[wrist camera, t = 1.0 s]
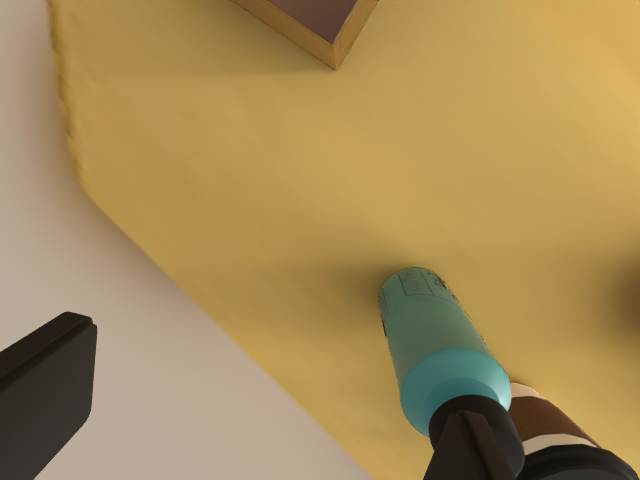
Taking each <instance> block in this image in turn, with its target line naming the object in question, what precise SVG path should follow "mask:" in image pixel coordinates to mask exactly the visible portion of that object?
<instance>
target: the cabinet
mask: <svg viewBox="0 0 640 480" xmlns="http://www.w3.org/2000/svg"><path fill="white" fill-rule="evenodd" d="M231 1H233V2H234V3H236V4H237V5H239V6H240V7H242V8H243V9H245V10H246V11H248V12H249V13H251V14H252V15H254V16H255V17H257V18H258V19H260V20H261V21H263V22H264V23H266V24H267V25H269V26H270V27H271V28H273V29H274V30H276V31H277V32H279V33H280V34H282V35H283V36H285V37H286V38H288V39H289V40H291V41H292V42H294V43H295V44H297V45H298V46H300V47H301V48H303V49H304V50H306V51H307V52H309V53H310V54H311V55H313V56H314V57H316V58H317V59H319V60H320V61H322V62H323V63H325V64H326V65H328V66H329V67H331V68H332V69H334V70H335V71H337V70H338V69H339V67H340V65H341V64H342V62H343V60H344V58H345V57H346V55H347V53H348V52H349V50H350V48H351V47H352V45H353V43H354V41H355V40H356V38H357V36H358V35H359V33H360V31H361V29H362V28H363V26H364V24H365V23H366V21H367V19H368V18H369V16H370V14H371V12H372V11H373V9H374V7H375V6H376V4H377V2H378V1H379V0H231Z"/></svg>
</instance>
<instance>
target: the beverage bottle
mask: <svg viewBox="0 0 640 480" xmlns="http://www.w3.org/2000/svg"><path fill="white" fill-rule="evenodd" d="M432 272H433V271H432ZM432 272H431V270H430V271H428V269H427V270H425V268H424V269H421V268H417V267H414V268H407V269H403V270H400V271H398V272H396V273H395V274H393V275H392V276H391V277H390V278H389V279H388V280H387V281H386V283H385V284H384V286H383V288H381V289H382V290H381V294H380V296H379V297H380V298H379V297H378V298H379V299H380V301H379V302H380V304H379V305H380V308H381V312H382V315H381V317H382V316H383V317H382V319H383V320H381V321H382V322H383V325H382V326H383V327H384V332H385V335H386V337H387V339H388V343H387V344H389V348H390V352H391V354H390V355H392V359H393V364H394V368H395V373H396V377H397V382H398V386H399V391H400V401H401V406H402V409H403V412H404V414H405V416H406V418H407V419H408V421H409V422H410V423H411V424H412V425H413V427H414V428H415V429H417V430H418V431H419V432H420V433H422V434H424V435H426V436H428V437H430V441H431V444H432V447H433V449H434V451H435V449H436V446H437V444H438V442H439V439H440V437H441V434H442V432H443V429H444V427H445V424H446V422H447V419H448V417H449V415H450V414H452V413H453V414H456V413H457V411H458V410H461V409H462V410H466V411H470V412H474V413H478V414H481V415H483V416H484V417H485V418H486V420H487V422H488V424H489V426H490V428H491V430H492V432H493V434H494V436H495V438H496V440H497V442H498V444H499V446H500V448H501V451H502V453H503V455H504V457H505V459H506V461H507V463H508V465H509V467H510V469H511V471H512V473H513V475H514V477H515V478H516V477H517V476H518V474H519V473H520V472H521V470H522V468H523V465H524V461H525V452H524V447H523V444H522V442H521V439H520V437H519V435H518V433H517V431H516V428H515V425H514V422H513V420H512V418H511V417H510V415H509V413H508V412H507V411H508V409H509V406H510V402H511V384H510V381H509V378H508V376H507V374H506V372H505V370H504V369H503V367H502V366H501V365H500V364H499V363H498V361H497V360H496V359H495V358H494V357H493V355H492V354H491V352H490V351H489V349H488V348H487V346H486V344H485V343H484V342H483V341H482V339H481V338H480V336H479V335H478V333H477V331H476V329H475V328H474V326H473V325H472V323H471V322H470V320H469V319H468V318H467V316H466V314H465V313H464V312H465V311H464V312H463V310H462V309H461V308H460V306H459V305H458V303H459V301H457V302H458V303H457V302H456V300H455V298H454V296H455V295H454V294H453V295H454V296H453V295H451V293H450V291H449V290H450V288H449V287H448V289H449V290H448V289H447V287H446V286H445V285H444V283H445V281H444V280H443V282H444V283H443V282H442V280H441V278H439V277H438V275H437V274H436V275H435V274H434V273H435V272H434V273H432ZM451 292H452V291H451ZM456 299H457V298H456ZM462 308H463V307H462ZM470 319H471V318H470ZM385 330H386V331H385ZM480 334H481V333H480ZM481 336H482V335H481ZM483 340H484V339H483ZM390 358H391V357H390ZM392 359H391V360H392Z"/></svg>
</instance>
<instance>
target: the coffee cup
mask: <svg viewBox="0 0 640 480" xmlns="http://www.w3.org/2000/svg"><path fill="white" fill-rule="evenodd" d="M510 384H511V402H510V406H509V409H508V411H507V412H508V413H509V415H510V417H511V418H512V420H513V422H514V425H515V428H516V431H517V433H518V435H519V437H520V439H521V442H522V444H523V447H524V452H525V461H524V465H523V468H522V470H521V472H520V473H519V474H518V476H517V477H516V478H515V479H516V480H639V478H638V476H637V474H636V472H635V471H634V470H633V469H632V467H631V466H630V465H628V464H627V463H626V462H624V461H623V460H622V459H620V458H619V457H617V456H616V455H615V454H613V453H612V452H611V451H608V450H605V449H602V448H601V447H600V446H599V445H598V444H597V443H596V442H595V441H594V440H593V439H592V438H590V437H589V436H588V435H587V434H586V433H585V432H584V431H583V430H582V429H581V428H579V427H578V426H577V425H576V424H575V423H574V422H573V421H572V420H571V419H570V418H569V417H567V416H566V415H565V414H564V413H563V412H562V411H561V410H560V409H559V408H557V407H556V406H555V405H553V404H552V403H550V402H549V401H548V400H546V399H545V398H544V397H543V396H542V395H541V394H539V393H538V392H537V391H535V390H534V389H533V388H531V387H529V386H526V385H522V384H519V383H515V382H512V383H510Z"/></svg>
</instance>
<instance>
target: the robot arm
mask: <svg viewBox="0 0 640 480" xmlns="http://www.w3.org/2000/svg"><path fill="white" fill-rule="evenodd" d="M96 341H97V326H96V325H95V324H93V321H92V318H90V317H88V316H84V315H80V314H76V313H72V312H64V313H62V314H60V315H59V316H57V317H56V318H54V319H53V320H51V321H49V322H48V323H47V324H44V325H43V326H41V327H40V328H38V329H37V330H35V331H33V332H32V333H30V334H29V335H27V336H25V337H24V338H22V339H21V340H19V341H17V342H16V343H14V344H12V345H11V346H9V347H8V348H6V349H4V350H3V351H1V352H0V480H33V479H34V478H35V477H36V476H37V475H38V474H39V473H40V472H41V471H42V470H43V468H44V467H45V466H46V465H47V464H48V463H49V462H50V461H51V460H52V458H53V457H54V456H55V455H56V454H57V453H58V452H59V451H60V450H61V449H62V448H63V446H64V445H65V444H66V443H67V442H68V441H69V440H70V439H71V438H72V437H73V435H74V434H75V433H76V432H77V431H78V430H79V429H80V428H81V427H82V426H83V424H84V423H85V422H86V420H87V418H88V417H89V414H90V412H91V405H92V392H93V380H94V379H93V378H94V365H95V354H96ZM423 480H516V479H515V477H514V475H513V473H512V471H511V469H510V467H509V465H508V463H507V461H506V459H505V457H504V455H503V453H502V451H501V448H500V446H499V444H498V442H497V440H496V438H495V436H494V434H493V432H492V430H491V428H490V426H489V424H488V422H487V420H486V418H485V417H484V416H483V415H481V414H478V413H474V412H470V411H466V410H462V409H461V410H458V411H457V413H456V414H453V413H452V414H450V415H449V417H448V419H447V422H446V424H445V427H444V429H443V432H442V434H441V437H440V439H439V442H438V444H437V446H436V449H435V451H434V454H433V456H432V459H431V461H430V464H429V466H428V469H427V471H426V473H425V476H424V478H423Z"/></svg>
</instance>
